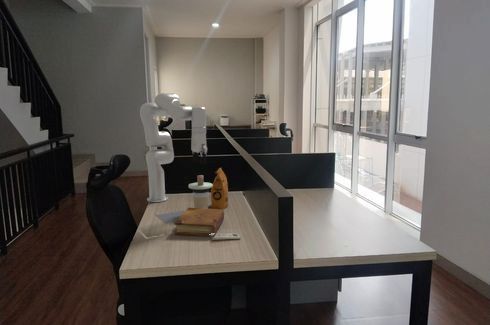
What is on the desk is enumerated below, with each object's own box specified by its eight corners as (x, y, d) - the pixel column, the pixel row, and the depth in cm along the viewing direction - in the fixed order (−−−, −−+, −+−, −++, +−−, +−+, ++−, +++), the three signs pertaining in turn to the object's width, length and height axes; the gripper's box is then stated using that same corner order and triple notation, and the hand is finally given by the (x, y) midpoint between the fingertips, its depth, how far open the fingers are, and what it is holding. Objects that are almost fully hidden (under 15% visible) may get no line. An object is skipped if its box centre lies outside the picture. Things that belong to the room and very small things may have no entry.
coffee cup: (211, 211, 208) (210, 185, 205) (207, 216, 199) (207, 188, 196) (195, 210, 208) (194, 184, 206) (191, 215, 200) (190, 188, 197)
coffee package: (208, 209, 212) (207, 171, 209) (214, 203, 224) (213, 167, 221) (225, 209, 210) (224, 171, 207) (230, 203, 222) (229, 167, 219)
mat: (155, 216, 198) (155, 215, 198) (183, 211, 207) (183, 210, 207) (165, 224, 185) (165, 223, 185) (195, 219, 193) (195, 217, 193)
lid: (184, 185, 203) (184, 175, 202) (206, 183, 210) (205, 172, 209) (194, 190, 192) (194, 179, 191) (216, 187, 199) (216, 176, 198)
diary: (214, 237, 168) (214, 224, 167) (174, 234, 171) (174, 222, 170) (224, 219, 191) (224, 208, 190) (188, 217, 193) (188, 207, 192)
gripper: (186, 129, 202) (186, 160, 205) (199, 132, 187) (199, 165, 190) (198, 129, 206) (199, 159, 209) (212, 131, 191) (213, 164, 194)
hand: (199, 162), depth 199 cm, fingers open, 9 cm apart
